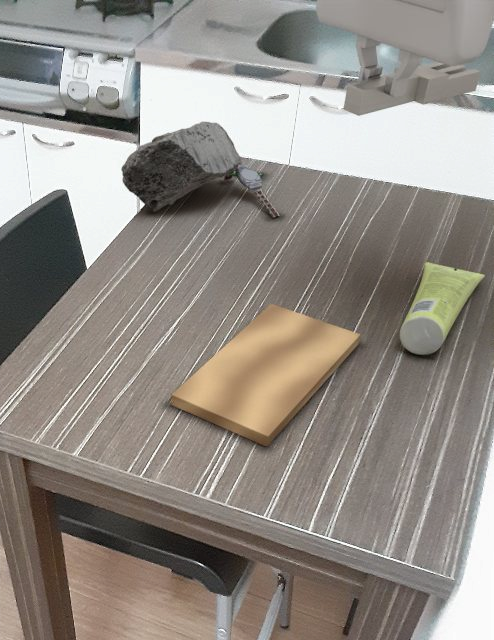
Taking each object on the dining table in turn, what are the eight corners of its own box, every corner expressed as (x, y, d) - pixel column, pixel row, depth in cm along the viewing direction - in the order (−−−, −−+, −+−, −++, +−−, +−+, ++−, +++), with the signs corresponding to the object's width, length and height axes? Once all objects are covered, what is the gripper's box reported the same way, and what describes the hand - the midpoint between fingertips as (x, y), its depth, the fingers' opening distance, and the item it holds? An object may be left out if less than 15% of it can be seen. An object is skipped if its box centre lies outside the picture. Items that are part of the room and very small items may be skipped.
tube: (418, 367, 89) (450, 295, 101) (457, 346, 85) (485, 274, 98) (389, 330, 88) (425, 262, 100) (427, 308, 84) (460, 239, 96)
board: (358, 344, 90) (360, 334, 89) (266, 447, 78) (268, 436, 77) (269, 313, 95) (271, 303, 94) (171, 405, 83) (171, 394, 82)
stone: (110, 122, 107) (203, 155, 102) (170, 99, 118) (256, 128, 114) (101, 205, 115) (186, 239, 110) (157, 176, 126) (237, 205, 122)
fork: (367, 119, 78) (372, 93, 76) (334, 106, 81) (338, 80, 80) (475, 90, 84) (482, 66, 82) (441, 78, 87) (447, 54, 85)
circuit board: (263, 171, 123) (259, 176, 122) (262, 175, 124) (259, 180, 123) (227, 165, 125) (223, 170, 124) (227, 169, 126) (222, 174, 125)
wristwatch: (234, 175, 123) (241, 149, 119) (278, 236, 117) (287, 210, 113) (214, 180, 122) (221, 153, 118) (258, 241, 116) (267, 215, 112)
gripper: (313, -84, 75) (294, 69, 85) (476, -49, 63) (431, 125, 73) (361, -90, 78) (336, 59, 87) (527, -58, 65) (477, 112, 75)
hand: (381, 89), depth 80 cm, fingers closed on fork, 2 cm apart
